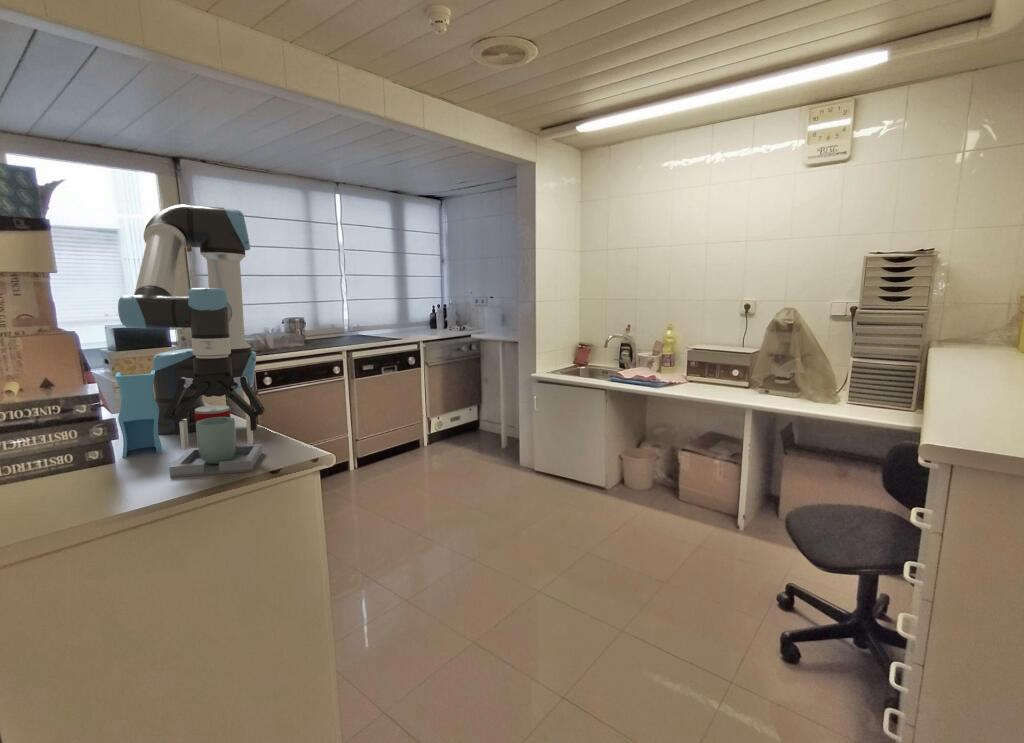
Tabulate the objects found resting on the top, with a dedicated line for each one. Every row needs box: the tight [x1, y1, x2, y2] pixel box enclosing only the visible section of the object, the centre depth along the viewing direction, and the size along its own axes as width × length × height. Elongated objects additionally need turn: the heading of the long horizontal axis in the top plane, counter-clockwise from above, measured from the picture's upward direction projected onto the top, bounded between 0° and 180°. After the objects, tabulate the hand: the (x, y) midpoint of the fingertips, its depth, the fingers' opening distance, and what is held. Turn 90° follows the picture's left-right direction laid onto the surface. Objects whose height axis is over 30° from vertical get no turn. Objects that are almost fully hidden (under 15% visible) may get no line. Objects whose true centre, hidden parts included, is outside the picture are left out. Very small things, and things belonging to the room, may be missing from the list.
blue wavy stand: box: [114, 369, 163, 459], centre depth 125 cm, size 8×8×20 cm
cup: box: [195, 416, 237, 464], centre depth 117 cm, size 8×8×10 cm
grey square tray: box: [169, 443, 263, 478], centre depth 117 cm, size 14×16×2 cm
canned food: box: [195, 404, 231, 448], centre depth 128 cm, size 8×8×11 cm
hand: (218, 445), depth 117 cm, fingers open, 13 cm apart
